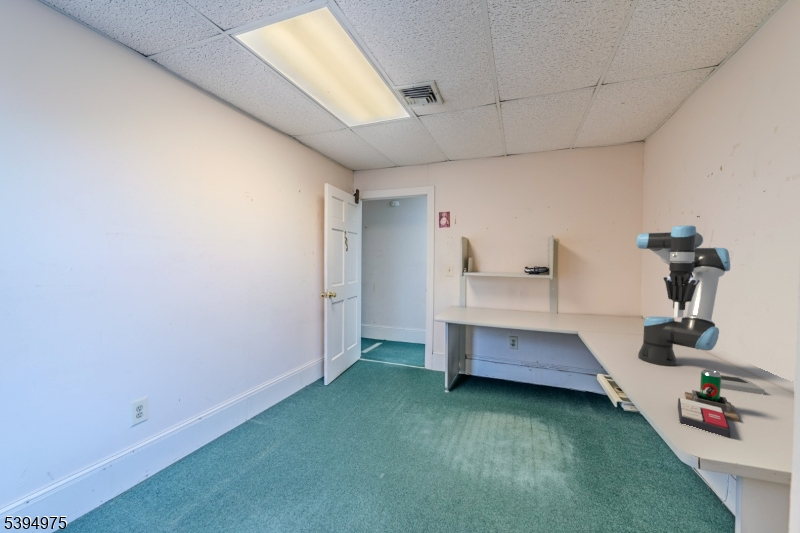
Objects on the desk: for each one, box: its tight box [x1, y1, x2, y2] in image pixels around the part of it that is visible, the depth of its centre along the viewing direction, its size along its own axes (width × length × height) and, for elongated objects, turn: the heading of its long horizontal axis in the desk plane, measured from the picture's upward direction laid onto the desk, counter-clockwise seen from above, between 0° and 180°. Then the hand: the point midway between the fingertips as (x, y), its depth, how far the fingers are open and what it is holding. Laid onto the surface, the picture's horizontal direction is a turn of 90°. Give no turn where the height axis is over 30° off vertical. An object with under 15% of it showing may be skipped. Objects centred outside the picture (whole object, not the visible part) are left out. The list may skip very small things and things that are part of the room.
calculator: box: [677, 397, 731, 439], centre depth 97 cm, size 11×4×15 cm
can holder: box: [684, 389, 740, 423], centre depth 106 cm, size 15×12×3 cm
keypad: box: [720, 374, 765, 396], centre depth 124 cm, size 10×4×15 cm
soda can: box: [699, 369, 722, 403], centre depth 106 cm, size 5×5×12 cm
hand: (678, 317), depth 125 cm, fingers closed
